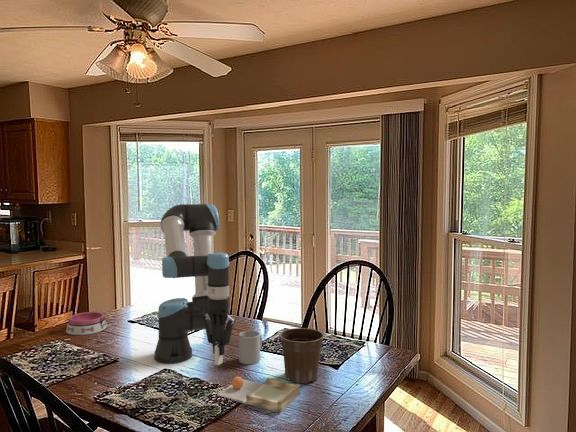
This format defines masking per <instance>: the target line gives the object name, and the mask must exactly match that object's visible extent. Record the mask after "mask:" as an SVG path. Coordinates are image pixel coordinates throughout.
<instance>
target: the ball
mask: <svg viewBox="0 0 576 432" xmlns="http://www.w3.org/2000/svg"><path fill="white" fill-rule="evenodd" d="M231 385H232V386H233V387H234V388H235V389H239V388H241V387H242V386H243V378H242V377H241V376H234V378H233V379H232V380H231Z"/></svg>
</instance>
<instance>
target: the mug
mask: <svg viewBox="0 0 576 432" xmlns="http://www.w3.org/2000/svg"><path fill="white" fill-rule="evenodd" d="M238 340H239V341H238V362H239V363H240V364H242V365H255V364H258V363H259V362H260V360H261V348H262V345H263V337H262V334H261V333H260V332H259V331H257V330H245V331H241V332H240V333H239V334H238Z"/></svg>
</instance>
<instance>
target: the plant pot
mask: <svg viewBox="0 0 576 432" xmlns="http://www.w3.org/2000/svg"><path fill="white" fill-rule="evenodd" d="M324 336H325V334H324V333H323V332H322V331H320V330H318V329H313V328H309V327H308V328H307V327H296V328H295V327H294V328H288V329H285V330H283V331H281V332H280V333H279V337H280V340H281V347H282V352H283V364H284V377H285V379H286V380H288V381H289V382H290V383H293V384H309V383H310V382H315V381H316V380H318V378H319V367H320V356H321V350H322V345H323V339H324Z"/></svg>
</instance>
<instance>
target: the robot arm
mask: <svg viewBox="0 0 576 432" xmlns="http://www.w3.org/2000/svg"><path fill="white" fill-rule="evenodd" d="M219 217H220V216H219V213H218V209H217V207H216V205H214V204H211V203H210V204H209V203H197V204H196V203H195V204H194V203H193V204H190V203H188V204H187V203H186V204H183V203H181V204H176V205H174V206H172V207H170V208H168V210H166V212H164V214H163V215H162V216H161V220H160V229H161V231H162V233H163V236H164V244H165V245H164V247H165V254H166V256H165V257H163V258H162V259H161V273H162V277H163V278H166V279H170V278H171V279H178V278H191V277H192V278H193V277H194V284H195V285H194V288H195V289H194V291H195V293H194V294H193V296H192V298H191V301H188V299H187V298H185V297H179V298H177V297H176V298H171V299H168V300H165V301H163V302H161V303H160V304H159V306H158V312H157V313H158V314H157V317H158V340H157V343H156V347H155V350H154V353H153V355H154V360H155V361H156V362H157V363H158V362H159V363H163V364H178V363H183V362H186V361H188V360H189V359H191V358H192V357H193V349H192V346H191V344H190V340H189V335H188V333H189V332H188V331H199V330H200V331H201V330H205V333H206V338H207V343H208V344H211V345H212V353H213V355H214V365H216V366H219V365H221V364H223V362H224V361H223V358H224V357H223V356H224V355H225V346H226V345H229V344H230V341H231V337H232V331H233V328H234V324H235V322H236V318H235V317H231V316H230V311H229V310H230V309H229V308H230V297H229V296H230V257H229V254H228V253H226V252H219V251H218V252H214V251H215V249H214V237H215V235H216V234H217V231H218V230H220V218H219ZM184 231H185V232H188V231H189V232H188V233H189V237H191V238H192V242H193V243H192V245H193V255H188V253H187V246H186V245H187V244H186V241H185V235H184Z"/></svg>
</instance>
